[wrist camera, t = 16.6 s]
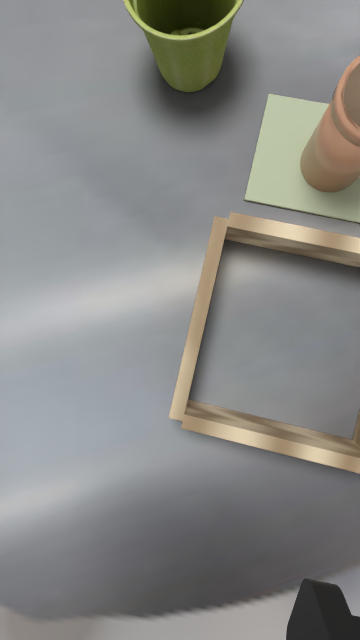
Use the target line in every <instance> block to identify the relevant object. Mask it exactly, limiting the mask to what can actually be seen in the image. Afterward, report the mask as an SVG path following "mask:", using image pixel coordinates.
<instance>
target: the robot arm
mask: <svg viewBox="0 0 360 640" xmlns="http://www.w3.org/2000/svg"><path fill="white" fill-rule="evenodd" d="M286 640H360V617H358V616H353V615H351V613H350V610H349V608H348V605H347V603H346V600H345V598H344V595H343V593H342V591H341V589H340V588H339V587H338V586H337V585H335V584H330V583H325V582H320V581H316V580H311V579H304V580H303V581H302V583H301V586H300V589H299V592H298V595H297V598H296V601H295V604H294V607H293V610H292V614H291V616H290V619H289V622H288V626H287V634H286Z"/></svg>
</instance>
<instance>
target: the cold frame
mask: <svg viewBox="0 0 360 640" xmlns="http://www.w3.org/2000/svg"><path fill="white" fill-rule="evenodd" d="M224 239H226V240H231V241H236V242H240V243H245V244H250V245H255V246H260V247H264V248H269V249H274V250H279V251H284V252H288V253H293V254H298V255H303V256H307V257H312V258H317V259H322V260H327V261H331V262H336V263H341V264H346V265H351V266H355V267H360V238H357V237H352V236H347V235H342V234H337V233H332V232H328V231H323V230H318V229H313V228H308V227H303V226H298V225H293V224H288V223H283V222H278V221H273V220H268V219H263V218H258V217H253V216H248V215H244V214H239V213H234V212H230V217H229V219H226V218H221V217H216V216H215V217H214V221H213V225H212V230H211V234H210V239H209V243H208V247H207V252H206V256H205V261H204V265H203V269H202V274H201V278H200V283H199V287H198V291H197V296H196V300H195V305H194V309H193V313H192V318H191V322H190V327H189V331H188V335H187V340H186V344H185V349H184V353H183V357H182V362H181V366H180V371H179V375H178V379H177V384H176V388H175V393H174V397H173V401H172V406H171V410H170V415H169V418H172V419H176V420H180V421H183V422H182V426H181V428H183V429H187V430H191V431H194V432H198V433H202V434H206V435H210V436H214V437H218V438H222V439H226V440H230V441H234V442H238V443H242V444H246V445H250V446H254V447H258V448H262V449H265V450H269V451H273V452H277V453H281V454H285V455H289V456H293V457H297V458H301V459H305V460H309V461H313V462H317V463H321V464H325V465H329V466H332V467H336V468H340V469H344V470H348V471H352V472H356V473H360V411H359V415H358V419H357V423H356V427H355V431H354V435H353V439H352V440H350V439H346V438H342V437H338V436H334V435H330V434H326V433H322V432H318V431H314V430H310V429H306V428H302V427H298V426H294V425H290V424H286V423H282V422H277V421H273V420H269V419H265V418H261V417H257V416H253V415H249V414H245V413H241V412H237V411H233V410H229V409H225V408H221V407H217V406H213V405H209V404H204V403H200V402H196V401H192V400H188V397H189V392H190V388H191V383H192V379H193V375H194V370H195V366H196V362H197V357H198V353H199V348H200V344H201V340H202V335H203V331H204V327H205V322H206V318H207V314H208V309H209V305H210V300H211V296H212V292H213V287H214V283H215V279H216V274H217V270H218V266H219V261H220V257H221V252H222V248H223V244H224Z"/></svg>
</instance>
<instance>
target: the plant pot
mask: <svg viewBox="0 0 360 640" xmlns="http://www.w3.org/2000/svg"><path fill="white" fill-rule="evenodd" d="M123 1H124V4H125V6H126V9H127V11H128V12H129V14H130V16H131V17H132V19H133V20H134V21H135V22H136V24H137V25H138V26H139V27H140V28H141V29H142V30H143V31H144V33H145V35H146V38H147V40H148V43H149V45H150V47H151V50H152V52H153V55H154V57H155V60H156V62H157V65H158V67H159V70H160V72H161V74H162V76H163V78H164V79H165V80H166V81H167V83H168V84H169V85H170V86H171V87H173V88H174V89H177V90H179V91H183V92H195V91H198V90H201V89H203V88H204V87H205V86H206V85H208V84H209V83H210V82H212V81H213V80H214V79H215V78H216V77H217V75H218V73H219V71H220V69H221V66H222V61H223V57H224V53H225V48H226V44H227V40H228V36H229V32H230V28H231V24H232V20H233V18H234V16H235V14H236V13H237V12H238V10H239V9H240V7H241V5H242V3H243V1H244V0H123ZM191 33H195V34H191ZM188 34H191V35H188Z"/></svg>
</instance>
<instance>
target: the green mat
mask: <svg viewBox="0 0 360 640" xmlns="http://www.w3.org/2000/svg"><path fill="white" fill-rule="evenodd" d="M328 106H329V104H325V103H319V102H313V101H308V100H302V99H296V98H290V97H285V96H279V95H273V94H269V95H268V99H267V103H266V108H265V112H264V116H263V121H262V125H261V129H260V134H259V138H258V142H257V147H256V151H255V156H254V160H253V164H252V169H251V173H250V177H249V182H248V186H247V190H246V195H245V199H244V200H246V201H251V202H256V203H261V204H266V205H271V206H276V207H281V208H286V209H291V210H296V211H301V212H306V213H311V214H316V215H321V216H326V217H331V218H336V219H341V220H346V221H351V222H356V223H360V177H359V178H358V179H357V180H356V181H354V182H353V183H352V184H351V185H350V186H348V187H347V188H345V189H343V190H341V191H337V192H323V191H319V190H317V189H315V188H313V187H312V186H311V185H309V184H308V183H307V181H306V180H305V179H304V177H303V175H302V172H301V168H300V159H301V154H302V152H303V149H304V147H305V146H306V144H307V142H308V141H309V139H310V137H311V135H312V134H313V132H314V130H315V128H316V127H317V125H318V123H319V121H320V120H321V118H322V116H323V114H324V113H325V111H326V109H327V108H328Z"/></svg>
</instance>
